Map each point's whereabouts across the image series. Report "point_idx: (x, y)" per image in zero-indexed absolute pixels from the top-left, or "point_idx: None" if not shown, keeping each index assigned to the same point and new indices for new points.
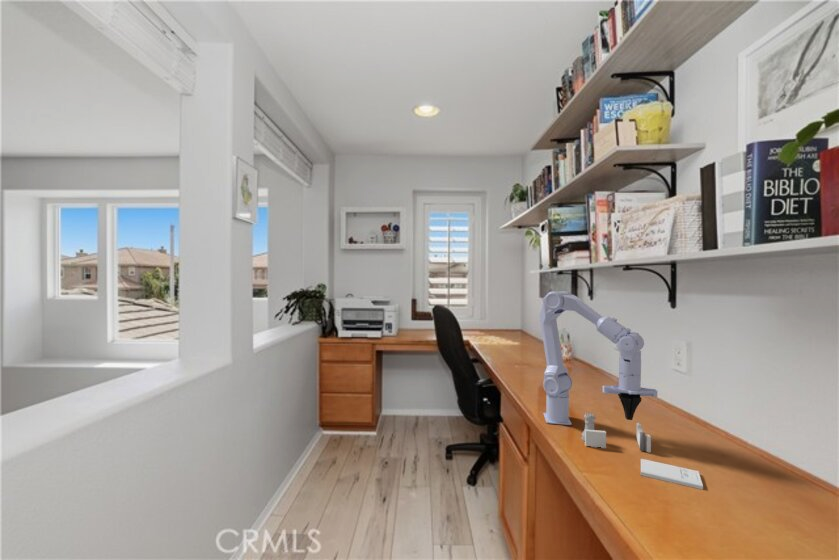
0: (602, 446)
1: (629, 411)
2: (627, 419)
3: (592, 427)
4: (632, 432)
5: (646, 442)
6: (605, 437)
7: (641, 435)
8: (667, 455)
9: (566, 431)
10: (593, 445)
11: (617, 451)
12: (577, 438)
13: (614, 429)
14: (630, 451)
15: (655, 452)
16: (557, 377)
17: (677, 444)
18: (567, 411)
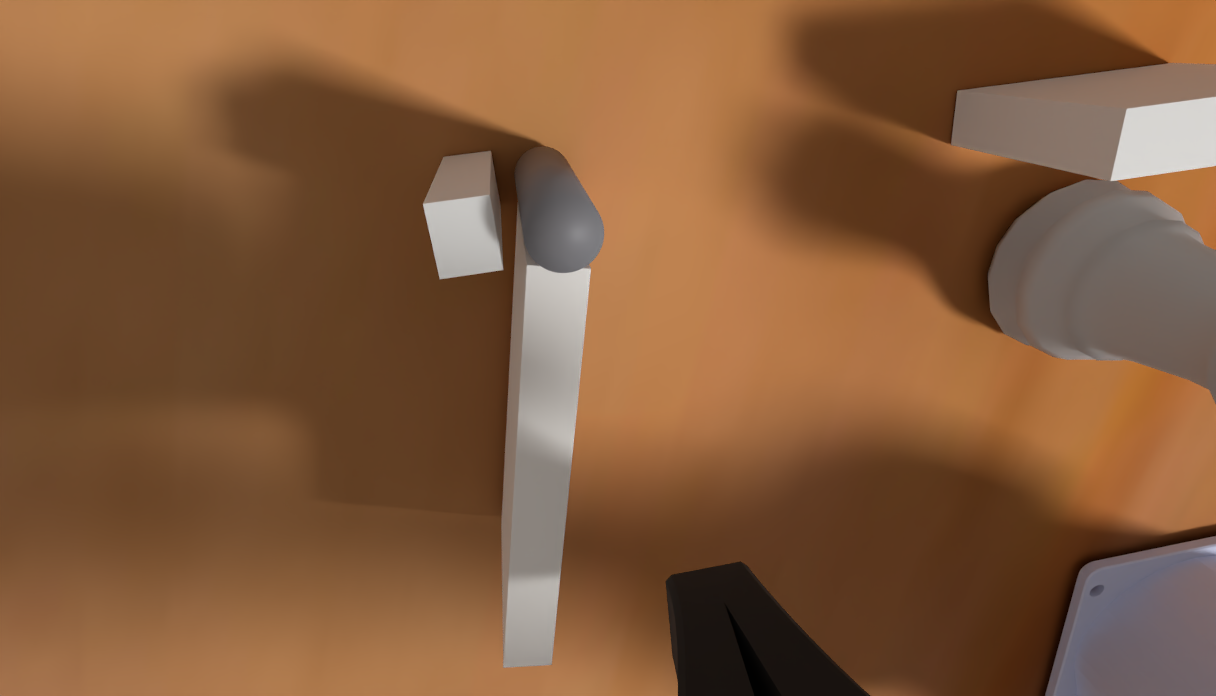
0: (1009, 85)
1: (790, 681)
2: (744, 567)
3: (1209, 281)
4: None
5: (493, 191)
6: (1068, 102)
7: (579, 192)
8: (239, 143)
9: (1184, 413)
10: (1109, 73)
11: (847, 42)
12: None
13: None
14: (687, 104)
15: (383, 189)
16: None
17: (107, 530)
18: (1202, 694)
